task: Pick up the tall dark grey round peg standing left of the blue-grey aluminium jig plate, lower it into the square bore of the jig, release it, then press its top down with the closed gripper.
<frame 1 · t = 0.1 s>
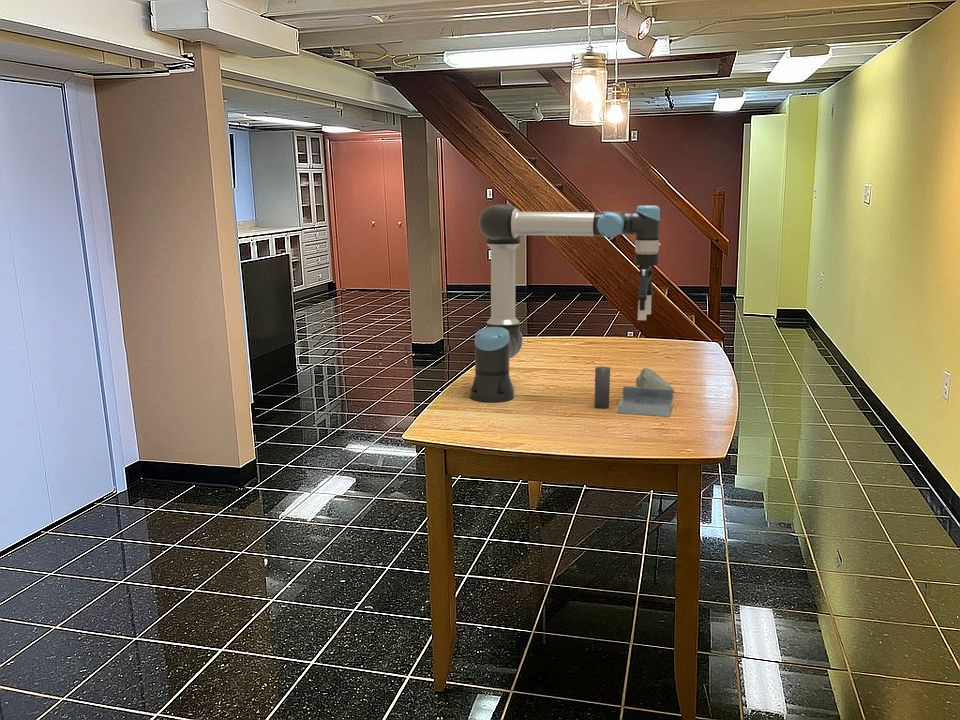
hand: (644, 317, 271), 28 cm above the table, fingers open, 13 cm apart
decorative stone: (654, 396, 280), on the table
dark grey round peg: (601, 406, 265), on the table
jig: (645, 409, 262), on the table
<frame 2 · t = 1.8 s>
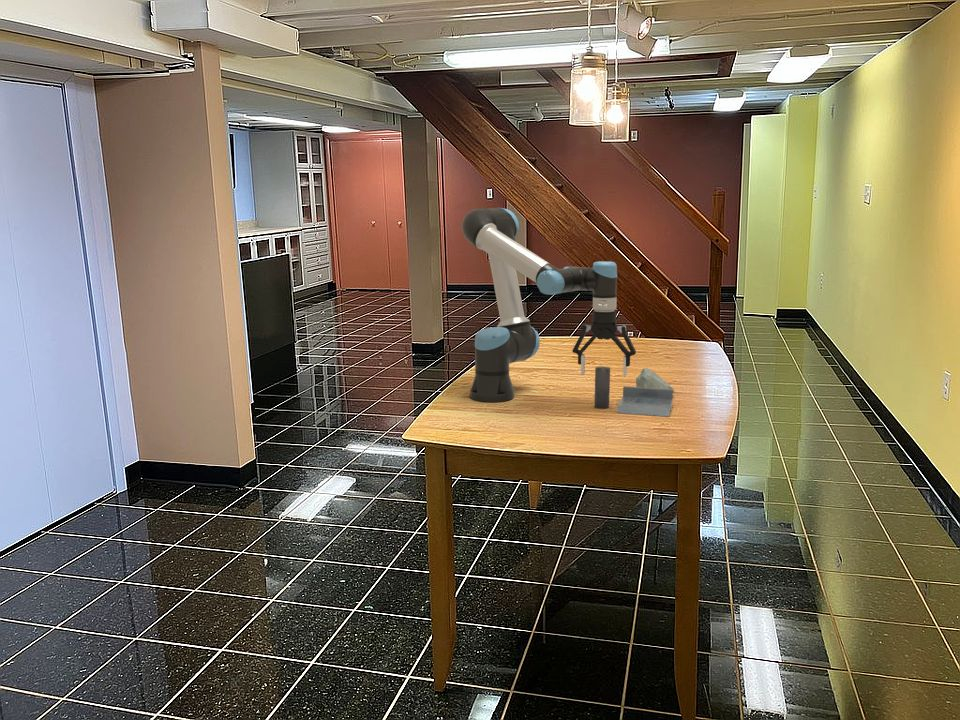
hand: (603, 375, 263), 11 cm above the table, fingers open, 13 cm apart
nothing on the table moved.
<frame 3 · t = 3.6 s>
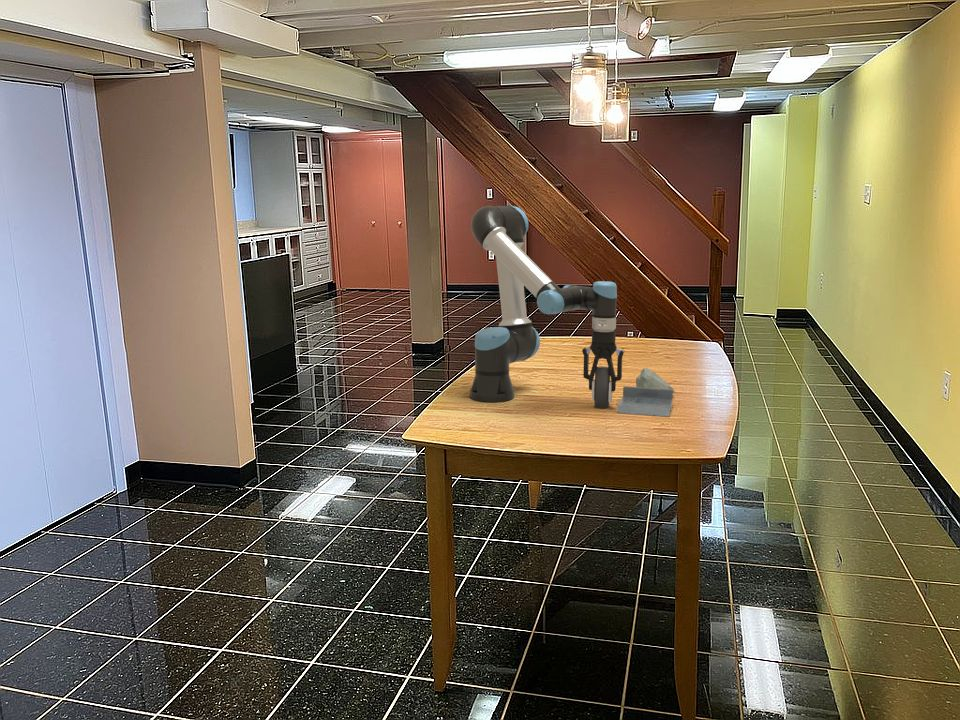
hand: (601, 400, 265), 2 cm above the table, fingers closed on dark grey round peg, 5 cm apart
dark grey round peg: (601, 406, 265), on the table, touching gripper
everything else where it was.
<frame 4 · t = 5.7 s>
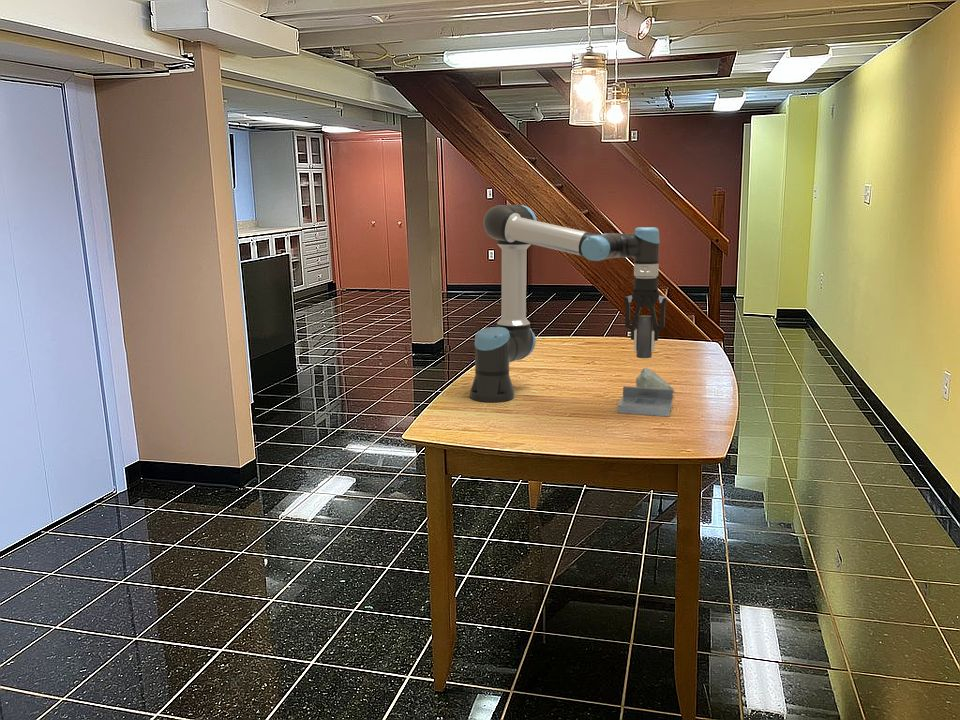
hand: (644, 350, 258), 19 cm above the table, fingers closed on dark grey round peg, 5 cm apart
dark grey round peg: (643, 356, 259), point 17 cm above the table, touching gripper
everything else where it was.
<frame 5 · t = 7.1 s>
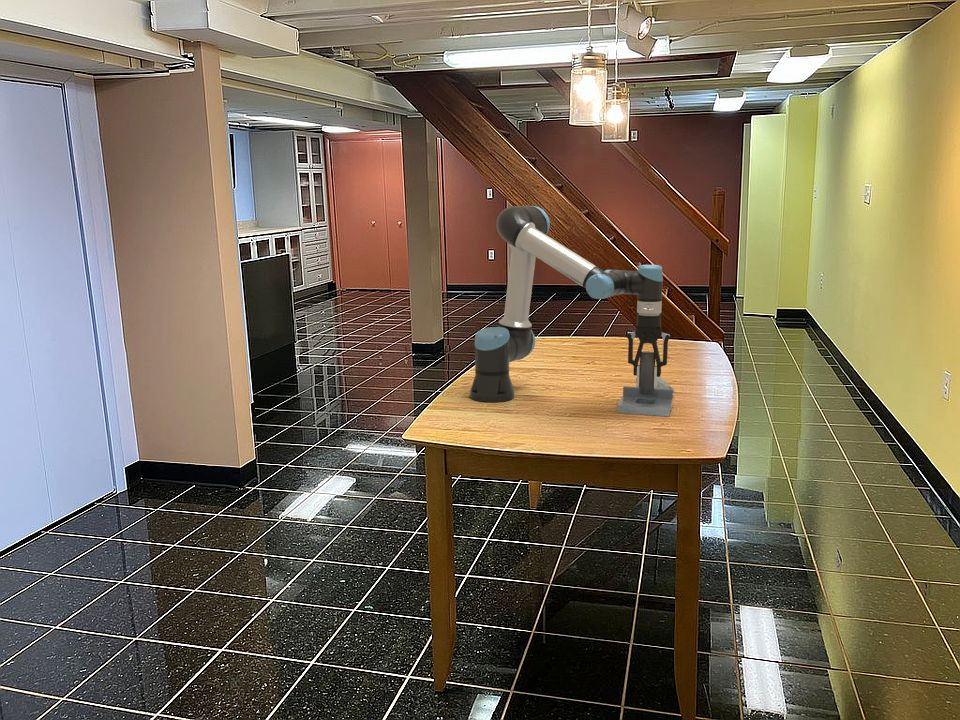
hand: (646, 385, 261), 8 cm above the table, fingers closed on dark grey round peg, 5 cm apart
dark grey round peg: (646, 392, 261), point 6 cm above the table, touching gripper
everything else where it was.
when the fingers open (4 cm above the table, at t = 8.2 s): dark grey round peg drops 2 cm, resting in jig.
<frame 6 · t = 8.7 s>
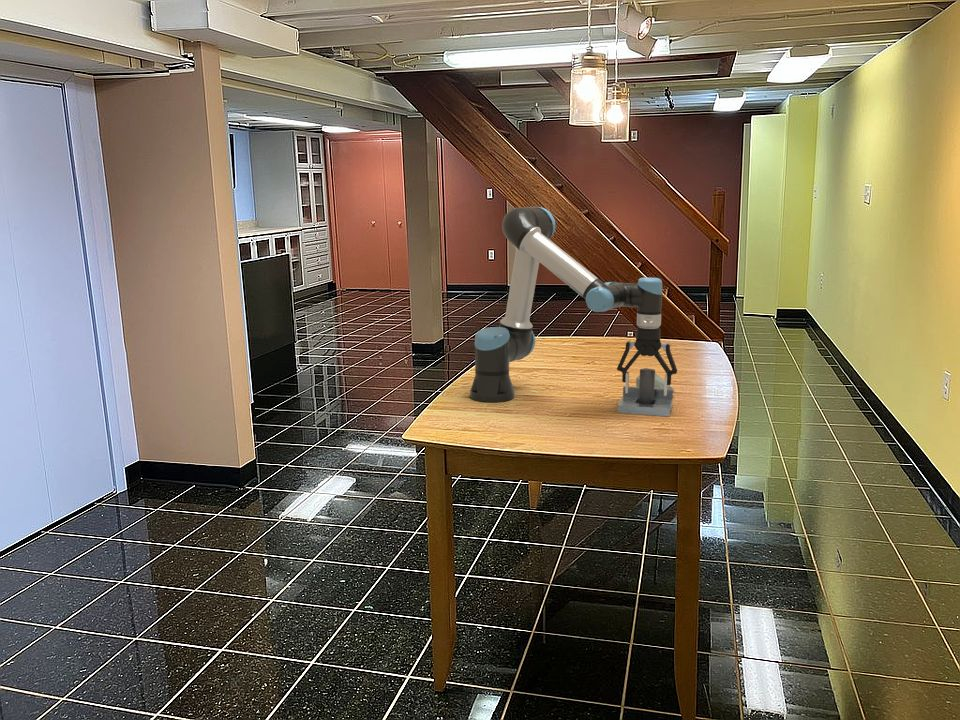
hand: (646, 393, 261), 5 cm above the table, fingers open, 11 cm apart
dark grey round peg: (645, 409, 262), resting in jig
everything else where it was.
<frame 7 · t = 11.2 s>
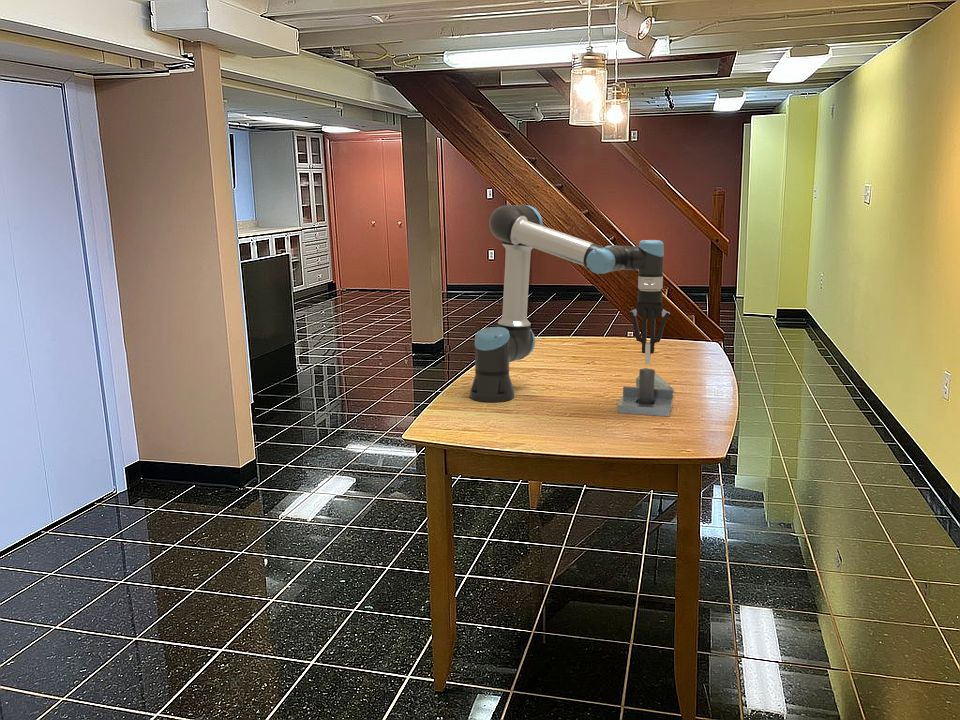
hand: (647, 363, 259), 15 cm above the table, fingers closed
nothing on the table moved.
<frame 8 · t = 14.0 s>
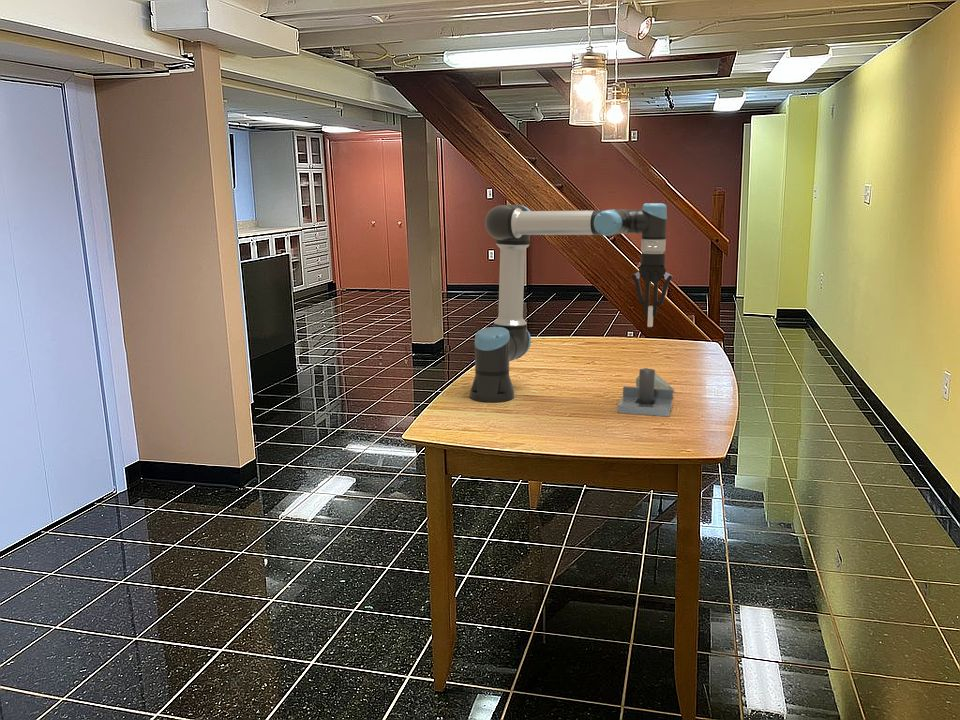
hand: (650, 326, 262), 26 cm above the table, fingers closed
nothing on the table moved.
at the end: dark grey round peg 0.1 cm off-centre on the jig, point 0.0 cm above the jig's base; dark grey round peg tilted 0°; the gripper is holding nothing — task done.
